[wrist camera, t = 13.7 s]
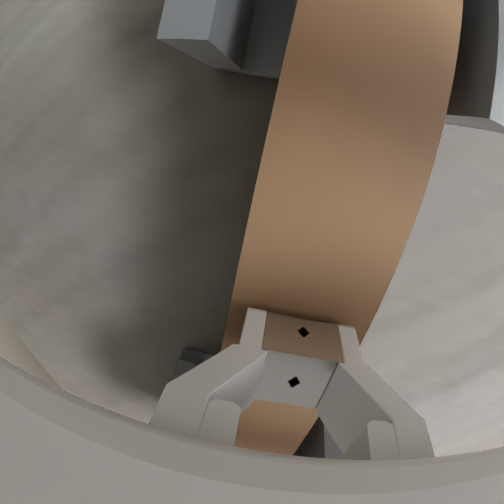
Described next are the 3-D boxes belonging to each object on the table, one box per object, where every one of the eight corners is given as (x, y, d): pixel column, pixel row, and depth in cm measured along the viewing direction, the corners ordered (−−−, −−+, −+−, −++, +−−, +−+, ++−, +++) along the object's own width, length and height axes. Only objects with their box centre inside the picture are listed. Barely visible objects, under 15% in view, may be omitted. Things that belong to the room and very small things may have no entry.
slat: (306, -3, 9) (312, -61, 4) (408, 29, 8) (463, -5, 4) (213, 407, 17) (196, 468, 13) (277, 420, 17) (272, 483, 13)
